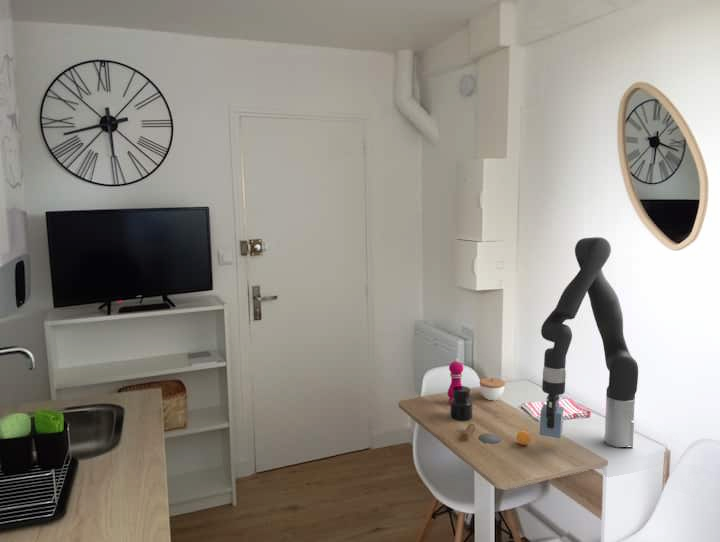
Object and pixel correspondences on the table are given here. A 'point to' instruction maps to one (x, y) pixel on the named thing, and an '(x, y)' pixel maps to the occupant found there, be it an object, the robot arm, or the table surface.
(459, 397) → the ink bottle
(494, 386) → the lidded jar
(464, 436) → the strip
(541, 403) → the dish towel
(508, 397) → the table surface
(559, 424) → the blue gray block
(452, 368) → the pepper mill
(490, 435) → the gray ellipsoid
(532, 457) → the table surface
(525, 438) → the ball
